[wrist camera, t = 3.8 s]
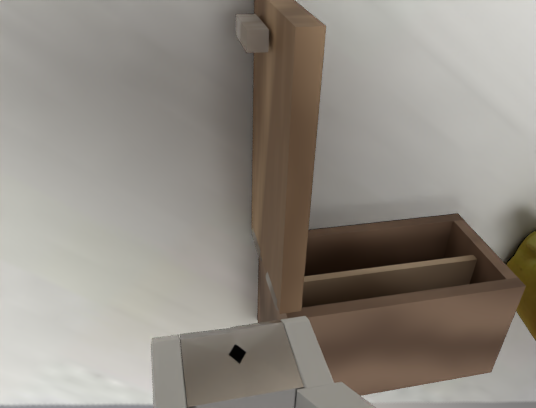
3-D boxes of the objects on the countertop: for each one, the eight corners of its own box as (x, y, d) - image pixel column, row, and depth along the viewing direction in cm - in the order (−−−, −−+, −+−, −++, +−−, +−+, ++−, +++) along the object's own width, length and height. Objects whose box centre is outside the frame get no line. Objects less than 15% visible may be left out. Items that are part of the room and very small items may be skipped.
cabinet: (435, 293, 42) (491, 372, 36) (257, 319, 39) (282, 409, 33) (457, 213, 38) (525, 286, 31) (259, 235, 35) (288, 320, 28)
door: (279, -14, 26) (328, 25, 19) (270, 234, 35) (302, 319, 28) (231, -13, 25) (264, 28, 19) (233, 238, 34) (257, 326, 28)
